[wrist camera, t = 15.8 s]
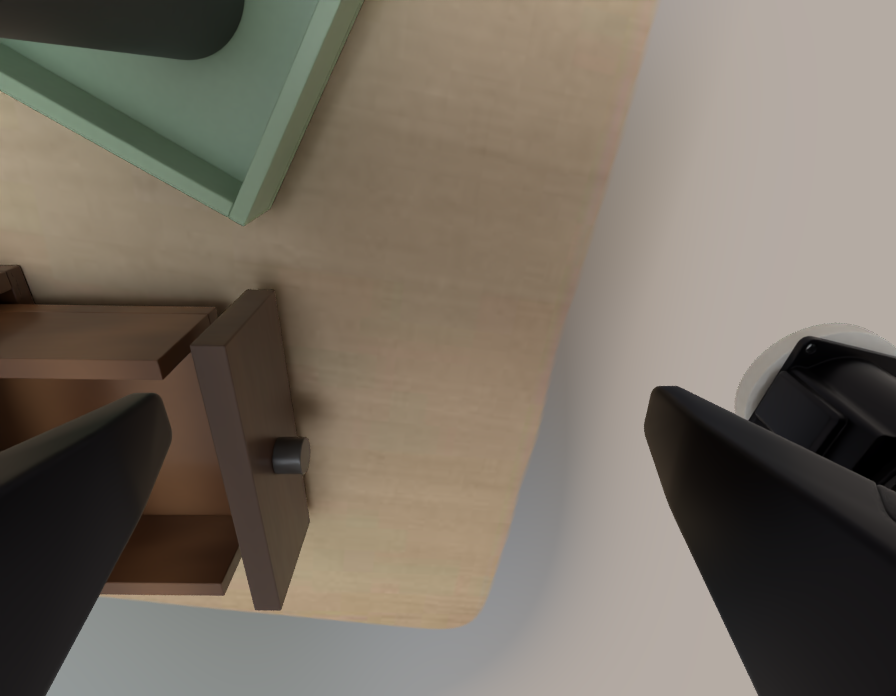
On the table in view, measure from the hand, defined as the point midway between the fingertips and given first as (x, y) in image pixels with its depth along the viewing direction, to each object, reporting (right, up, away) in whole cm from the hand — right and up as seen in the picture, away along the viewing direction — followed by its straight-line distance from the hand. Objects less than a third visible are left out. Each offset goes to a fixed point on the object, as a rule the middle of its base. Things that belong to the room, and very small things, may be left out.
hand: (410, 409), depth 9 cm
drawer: (-13, -2, +15) cm, 20 cm away
